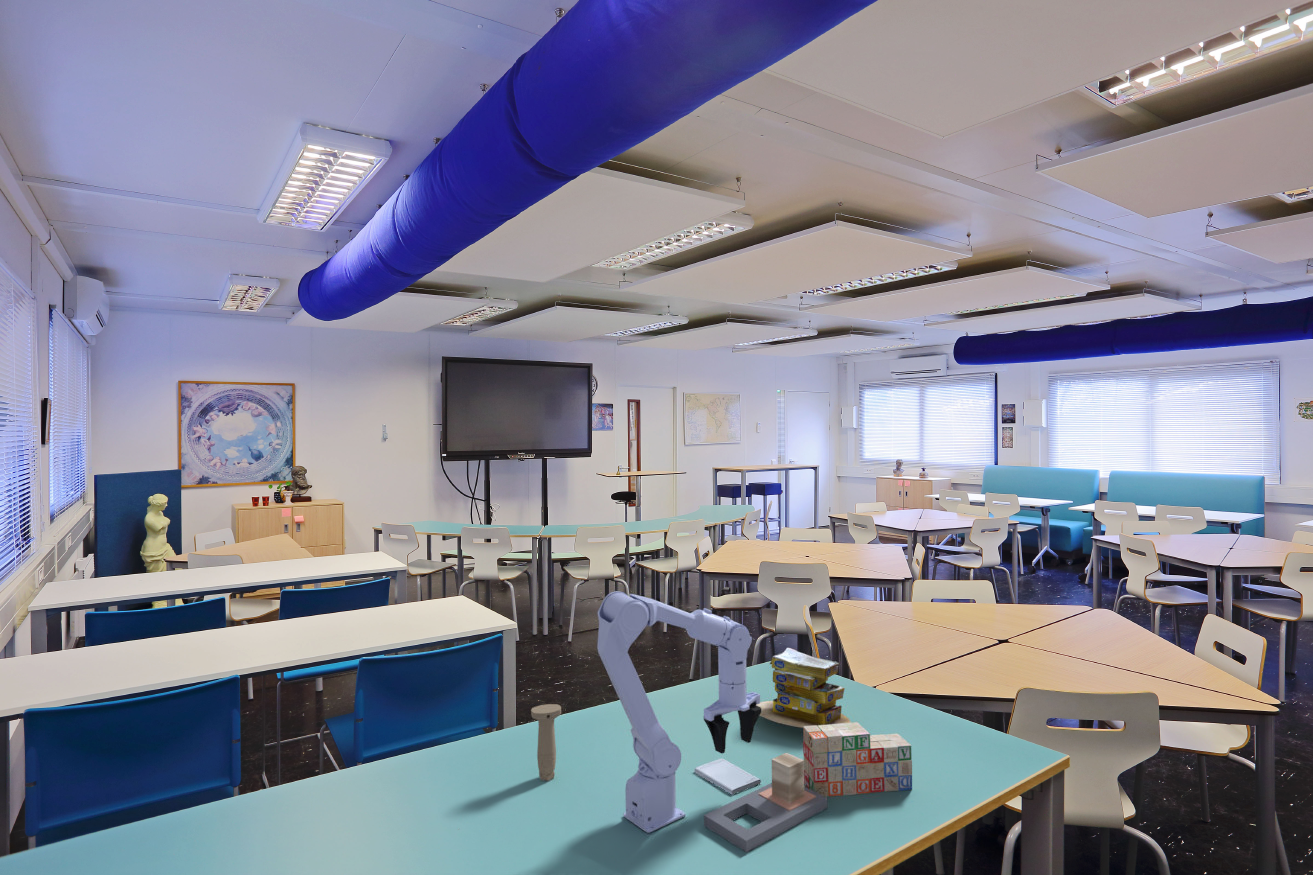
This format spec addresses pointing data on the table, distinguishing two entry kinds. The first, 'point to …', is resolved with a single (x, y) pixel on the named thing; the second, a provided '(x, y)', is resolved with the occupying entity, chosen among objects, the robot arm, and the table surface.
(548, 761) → the handle
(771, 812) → the kitting board
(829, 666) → the stack of yellow boxes
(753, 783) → the hard drive
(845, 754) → the stack of blocks
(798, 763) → the maple block
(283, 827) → the table surface
